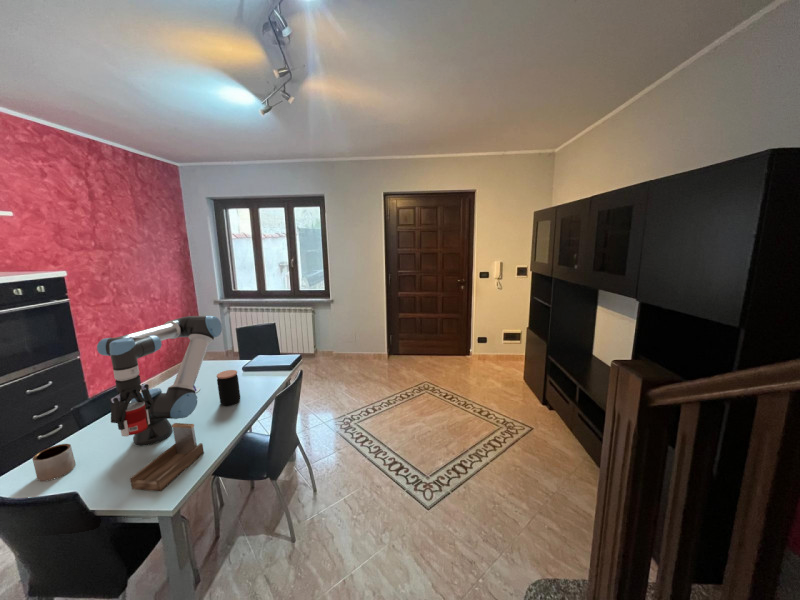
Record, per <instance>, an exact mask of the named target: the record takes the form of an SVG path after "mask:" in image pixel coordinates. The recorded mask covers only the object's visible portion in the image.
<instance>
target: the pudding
mask: <svg viewBox="0 0 800 600" xmlns="http://www.w3.org/2000/svg"><path fill="white" fill-rule="evenodd" d="M193 388H194V390H195V394H196V393H198V392H199V391H200V390H201V388H200V387H199V386H195V385H194V387H193Z"/></svg>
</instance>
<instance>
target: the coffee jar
mask: <svg viewBox="0 0 800 600" xmlns="http://www.w3.org/2000/svg"><path fill="white" fill-rule="evenodd" d="M216 378H217V379H216V382H217V390H218V398H219V403H220V405H222V407H224V406H225V407H229V406H234V405H236V404H237V403H239V402H240V400H241V390H240V384H239V376H238V371H237V370H235V369H228V370H223V371H220V372H218V373H217V374H216Z"/></svg>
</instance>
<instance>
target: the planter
mask: <svg viewBox="0 0 800 600" xmlns="http://www.w3.org/2000/svg"><path fill="white" fill-rule="evenodd" d="M32 462H33V463H32V464H33V467H34V471H35V475H36V478H37V480H38V481H39V480H40V482H46V480H48V481H52V480H51V479H53V480H55V479H54V478H56V479H58V478H60V476H61V477H63V476H65V475H66V474H68V473H70V472H71V471H72V470H73V469H74V468H75V467H76V465H77V464H76V460H75V457H74V452H73V449H72V445H71V444H70V443H62V444H61V443H60V444H57V445H56V444H55V445H53V446H50V447H47V448H45V449H43V450H41V451H39V452H37V453H36V454H35V455H34V456H32ZM64 474H65V475H64ZM62 475H63V476H62ZM57 477H58V478H57Z"/></svg>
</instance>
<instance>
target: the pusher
mask: <svg viewBox="0 0 800 600" xmlns="http://www.w3.org/2000/svg"><path fill="white" fill-rule="evenodd" d="M171 425H172V429H173V432H172V433H173V438H174V444H176V450H177V453H178V454H188V453H189V452H190V451H192V450H193V449H194V448H195V447H196V446H197V445H198V444H197V438H196V437H197V436H196V432H195V431H196V430H195V424H194V423H180V422H174V423H173V424H171Z"/></svg>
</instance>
